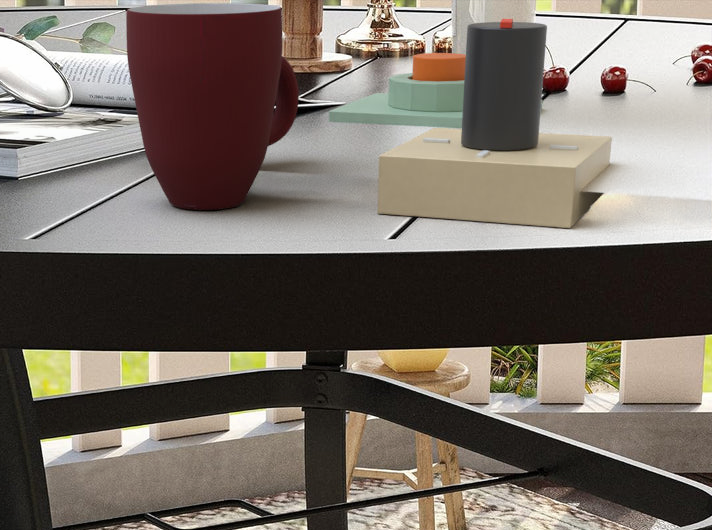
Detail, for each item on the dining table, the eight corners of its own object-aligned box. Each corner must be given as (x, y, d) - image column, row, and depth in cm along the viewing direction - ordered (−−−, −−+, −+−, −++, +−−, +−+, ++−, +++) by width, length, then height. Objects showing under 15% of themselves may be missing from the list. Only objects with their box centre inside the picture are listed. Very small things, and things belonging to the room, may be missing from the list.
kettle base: (540, 132, 97) (545, 72, 96) (506, 155, 89) (510, 89, 87) (375, 124, 102) (377, 66, 100) (328, 144, 93) (329, 82, 92)
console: (606, 192, 77) (612, 133, 76) (570, 228, 69) (576, 163, 68) (431, 180, 81) (433, 124, 80) (376, 213, 73) (379, 151, 72)
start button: (472, 80, 95) (474, 53, 94) (458, 87, 92) (459, 59, 91) (420, 79, 96) (422, 52, 95) (405, 85, 93) (406, 57, 92)
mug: (226, 177, 83) (225, -2, 79) (337, 193, 78) (342, 3, 74) (101, 206, 76) (92, 10, 72) (215, 225, 71) (213, 16, 67)
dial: (463, 137, 76) (470, 15, 74) (538, 139, 75) (548, 15, 73) (458, 149, 73) (465, 21, 70) (537, 151, 72) (547, 22, 69)
